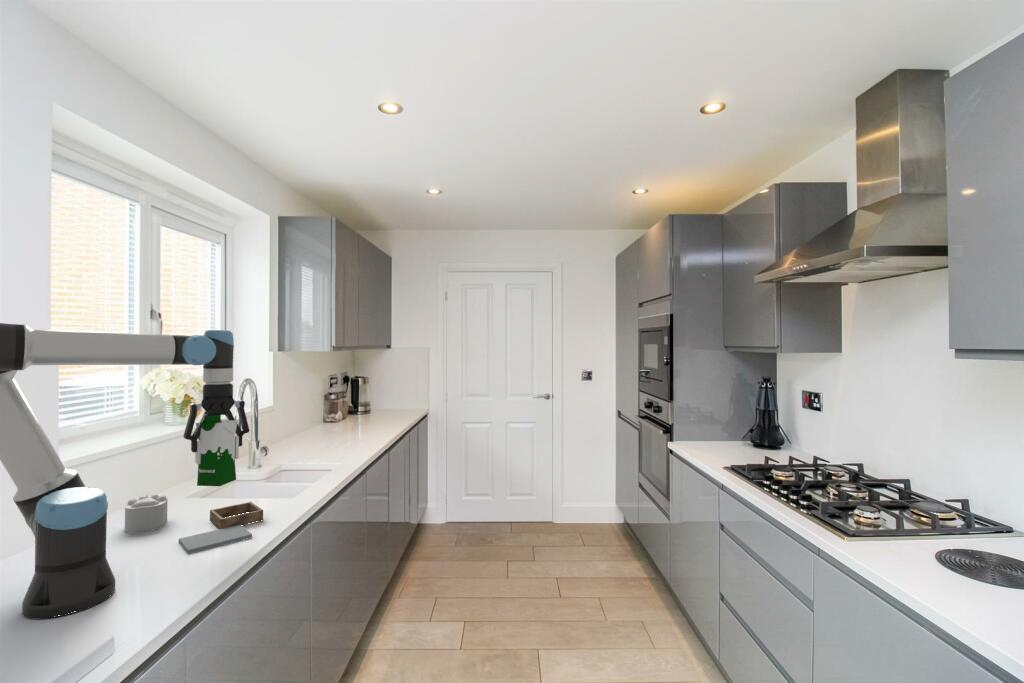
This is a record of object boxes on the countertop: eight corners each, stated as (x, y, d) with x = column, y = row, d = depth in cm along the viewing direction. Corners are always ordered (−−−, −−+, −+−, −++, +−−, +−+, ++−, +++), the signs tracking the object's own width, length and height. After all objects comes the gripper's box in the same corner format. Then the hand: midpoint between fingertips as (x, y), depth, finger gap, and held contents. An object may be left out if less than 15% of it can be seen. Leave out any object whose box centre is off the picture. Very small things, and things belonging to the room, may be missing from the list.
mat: (187, 553, 131) (187, 550, 131) (178, 542, 139) (178, 538, 139) (252, 537, 143) (252, 534, 143) (240, 527, 150) (240, 524, 150)
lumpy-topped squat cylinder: (121, 534, 145) (122, 505, 145) (130, 520, 156) (131, 493, 156) (164, 528, 150) (164, 500, 150) (169, 515, 161) (170, 489, 161)
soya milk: (191, 486, 137) (192, 415, 137) (214, 478, 146) (214, 411, 146) (220, 487, 136) (221, 416, 136) (241, 478, 145) (242, 412, 145)
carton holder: (220, 530, 148) (220, 519, 148) (209, 520, 156) (209, 509, 156) (263, 521, 156) (263, 510, 156) (250, 512, 165) (250, 501, 165)
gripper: (254, 380, 152) (253, 452, 151) (170, 384, 136) (169, 464, 136) (262, 381, 147) (261, 456, 146) (176, 385, 131) (175, 469, 131)
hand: (217, 460), depth 141 cm, fingers closed on soya milk, 9 cm apart
